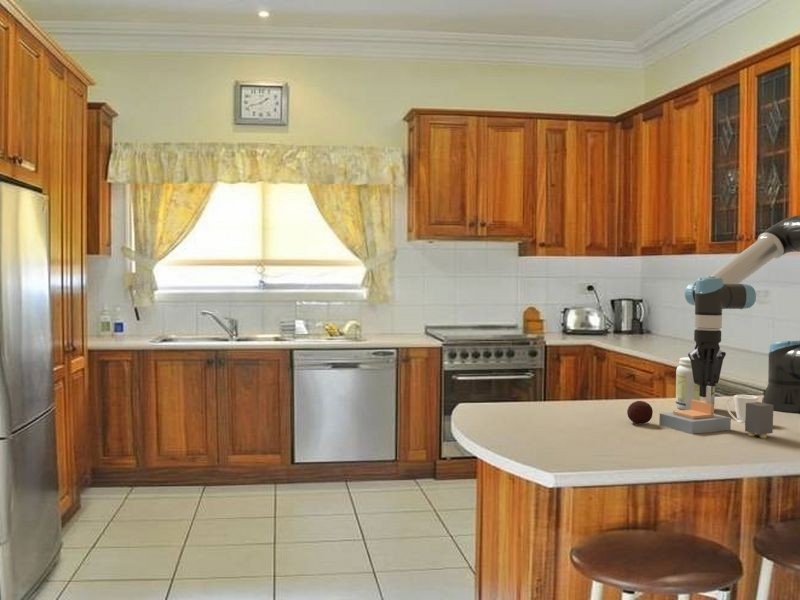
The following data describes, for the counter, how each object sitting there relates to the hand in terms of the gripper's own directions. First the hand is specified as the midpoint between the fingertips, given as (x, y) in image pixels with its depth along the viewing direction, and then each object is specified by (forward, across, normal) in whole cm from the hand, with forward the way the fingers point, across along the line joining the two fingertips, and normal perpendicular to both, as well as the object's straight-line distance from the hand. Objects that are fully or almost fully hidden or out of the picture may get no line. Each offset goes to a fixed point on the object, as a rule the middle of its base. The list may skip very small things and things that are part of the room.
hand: (705, 407), depth 230 cm
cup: (+6, -16, -1) cm, 17 cm away
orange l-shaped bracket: (+2, +5, 0) cm, 5 cm away
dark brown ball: (+6, +16, -10) cm, 20 cm away
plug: (+6, -4, +16) cm, 17 cm away
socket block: (+6, +4, 0) cm, 7 cm away
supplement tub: (+6, -18, -22) cm, 29 cm away
